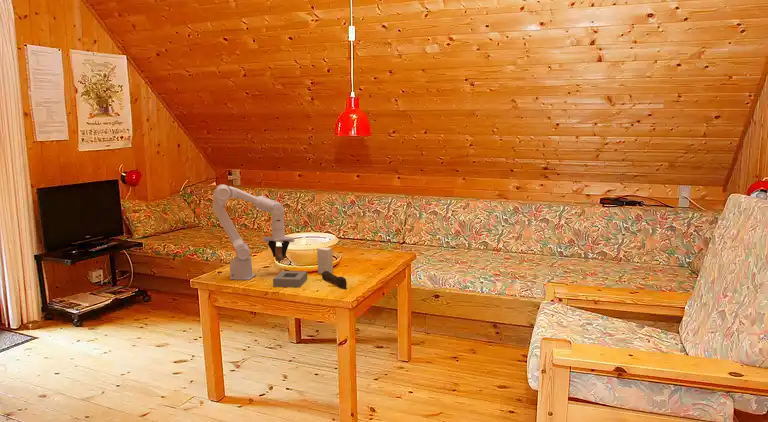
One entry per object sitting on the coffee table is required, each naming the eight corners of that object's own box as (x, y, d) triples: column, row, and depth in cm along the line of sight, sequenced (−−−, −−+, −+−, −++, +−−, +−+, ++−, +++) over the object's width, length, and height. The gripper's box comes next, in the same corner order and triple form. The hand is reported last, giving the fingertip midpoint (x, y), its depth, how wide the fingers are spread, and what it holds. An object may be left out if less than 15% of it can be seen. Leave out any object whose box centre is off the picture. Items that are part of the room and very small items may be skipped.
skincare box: (333, 272, 261) (332, 248, 259) (328, 275, 257) (327, 250, 255) (323, 271, 264) (322, 246, 262) (317, 273, 260) (316, 248, 258)
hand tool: (321, 279, 251) (321, 270, 250) (329, 278, 253) (329, 268, 252) (340, 291, 235) (340, 280, 234) (348, 289, 237) (348, 279, 236)
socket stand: (273, 286, 242) (272, 278, 241) (282, 278, 253) (281, 271, 253) (299, 287, 240) (299, 279, 239) (307, 279, 252) (307, 271, 251)
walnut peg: (274, 260, 258) (273, 248, 256) (277, 258, 261) (276, 246, 260) (282, 260, 257) (281, 248, 256) (285, 258, 261) (284, 246, 260)
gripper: (260, 229, 254) (261, 258, 256) (290, 230, 252) (292, 259, 254) (265, 226, 260) (267, 254, 263) (295, 227, 258) (296, 255, 261)
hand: (279, 256), depth 259 cm, fingers closed on walnut peg, 4 cm apart
